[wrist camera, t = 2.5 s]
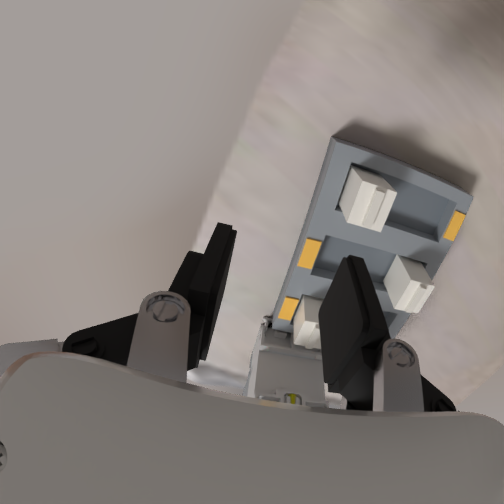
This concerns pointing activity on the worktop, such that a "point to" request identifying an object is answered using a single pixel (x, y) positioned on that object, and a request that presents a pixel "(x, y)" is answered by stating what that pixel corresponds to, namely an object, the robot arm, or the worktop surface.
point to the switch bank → (366, 240)
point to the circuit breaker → (285, 370)
